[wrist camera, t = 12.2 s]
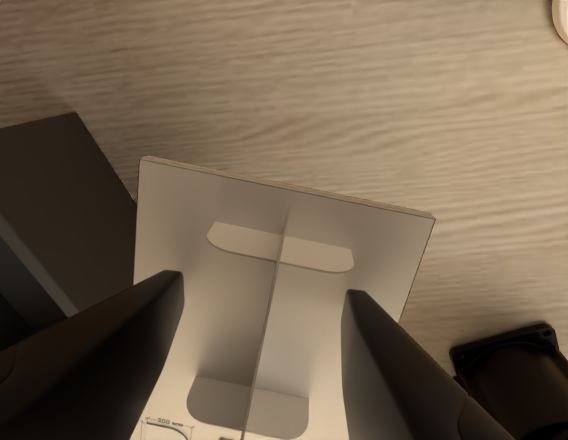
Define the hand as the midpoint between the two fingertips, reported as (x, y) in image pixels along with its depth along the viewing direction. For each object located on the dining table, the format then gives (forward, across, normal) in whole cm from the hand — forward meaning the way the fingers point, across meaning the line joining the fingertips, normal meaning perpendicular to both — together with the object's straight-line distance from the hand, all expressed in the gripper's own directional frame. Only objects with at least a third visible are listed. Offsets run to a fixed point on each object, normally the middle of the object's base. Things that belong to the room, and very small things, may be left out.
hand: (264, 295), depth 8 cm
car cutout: (+1, 0, +5) cm, 5 cm away
